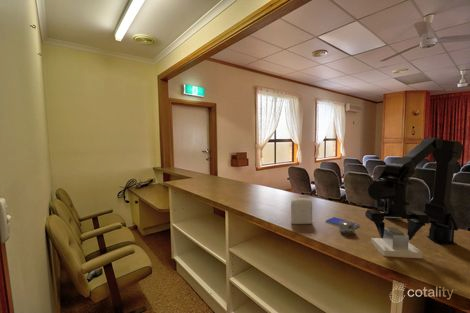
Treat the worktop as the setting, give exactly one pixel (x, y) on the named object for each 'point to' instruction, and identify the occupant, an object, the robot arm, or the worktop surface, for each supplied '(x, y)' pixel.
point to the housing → (395, 238)
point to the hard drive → (336, 221)
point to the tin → (346, 227)
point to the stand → (388, 251)
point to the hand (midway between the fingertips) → (395, 238)
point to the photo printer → (301, 211)
